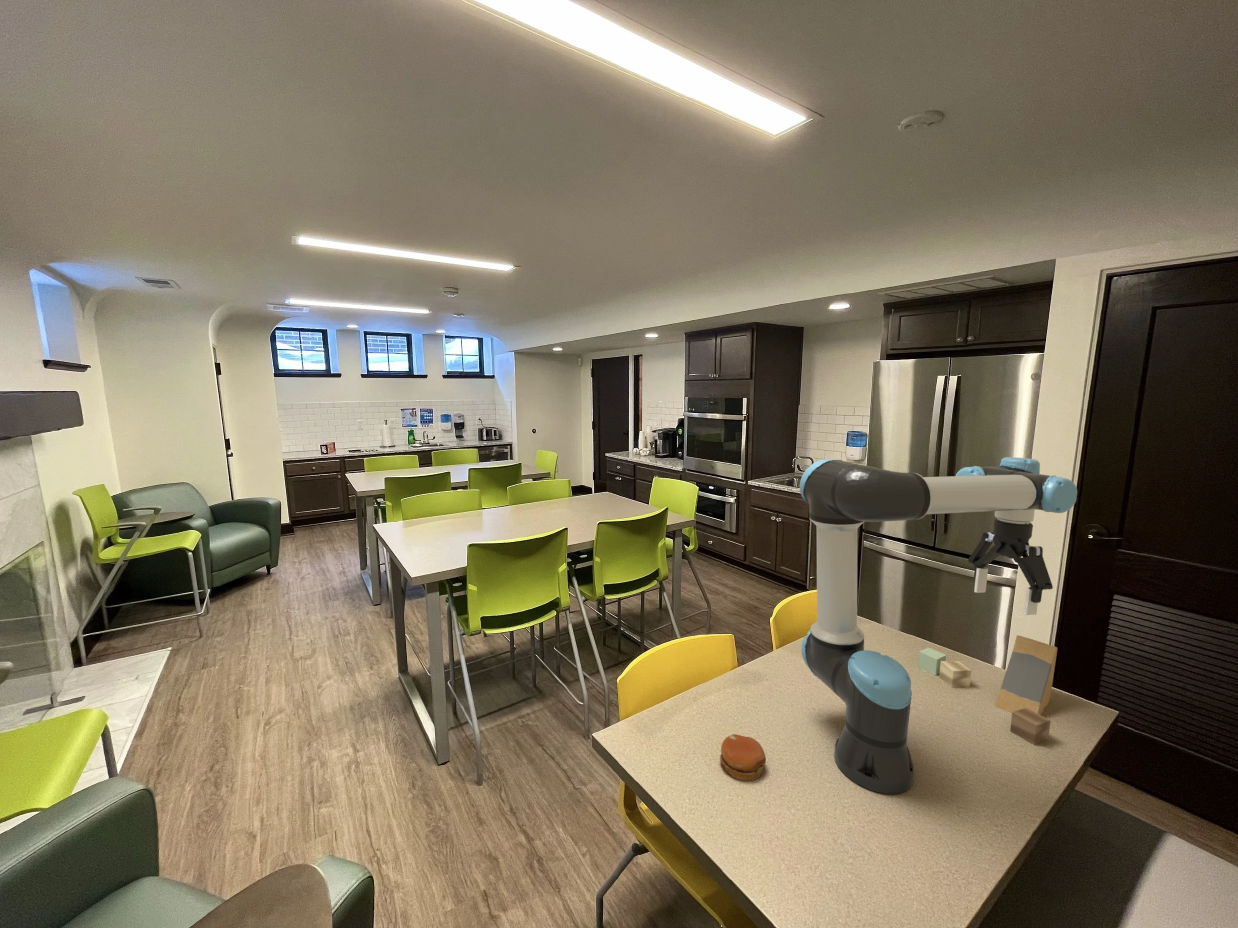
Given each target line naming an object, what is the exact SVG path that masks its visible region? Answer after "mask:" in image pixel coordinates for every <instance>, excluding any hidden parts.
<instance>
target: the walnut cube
mask: <svg viewBox="0 0 1238 928" xmlns="http://www.w3.org/2000/svg"><path fill="white" fill-rule="evenodd" d="M1050 729H1051V720H1050V719H1049V718H1046V717H1045V716H1042V714H1041V715H1039V714H1037V713H1035V712H1033V711H1032V710H1030V709H1028V708H1024V709H1021V710H1017V711H1014V712H1012V713H1011V722H1010V729H1009V730H1010V733H1013V734H1014V735H1016V736H1017V737H1019V738H1021V739H1022V740H1024V741H1026V742H1028V743H1029V744H1031V745H1033V746H1035V745H1039V744H1041V743H1043V742H1047V741H1049V735H1050Z"/></svg>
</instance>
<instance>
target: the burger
mask: <svg viewBox="0 0 1238 928" xmlns="http://www.w3.org/2000/svg"><path fill="white" fill-rule="evenodd" d="M720 748H721V749H720V752H721V754H720V755H719V760H720V761H719V762H720V764H721V765H722V766H723V768H724V769H725V770H726V772H727V773H728V774H729V775H731V776H732V777H733V778H734V779H737V780H741V781H753V780H756V779H758V778H759V777H761V776H762V774H763V771H764V765H765V764H766V761H767V760H766V759H767V758H766V757H767V756H766V753H765V751H764V749H763V746H762V744H761V743H760V742H759V741H758V740H756V739H754V738H753V737H750V736H743V735H740V734H735V733H734V734H731V735H728V736H726V737H725V738H724V740H723V741H722V743H721V747H720Z"/></svg>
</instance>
